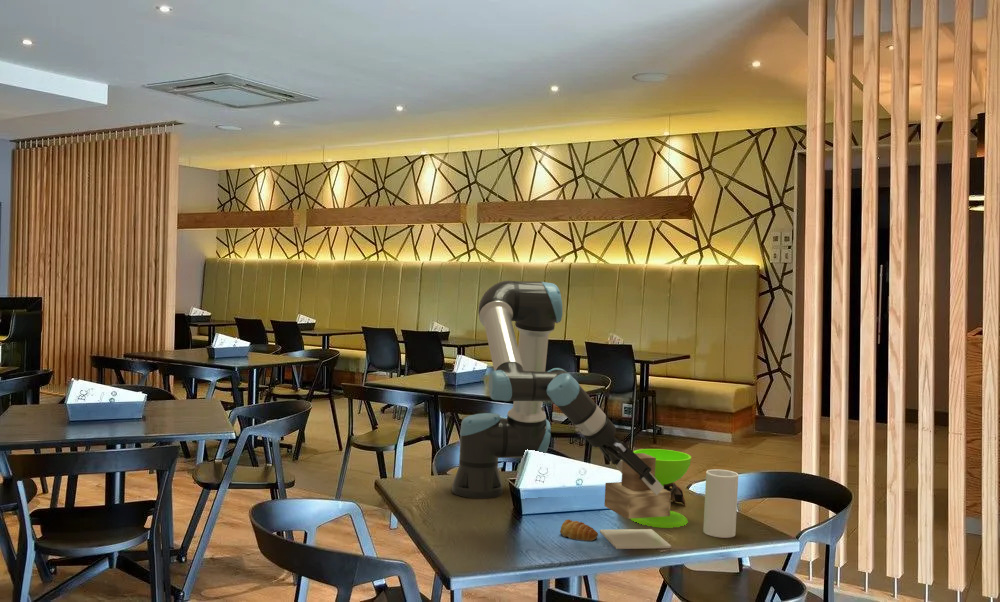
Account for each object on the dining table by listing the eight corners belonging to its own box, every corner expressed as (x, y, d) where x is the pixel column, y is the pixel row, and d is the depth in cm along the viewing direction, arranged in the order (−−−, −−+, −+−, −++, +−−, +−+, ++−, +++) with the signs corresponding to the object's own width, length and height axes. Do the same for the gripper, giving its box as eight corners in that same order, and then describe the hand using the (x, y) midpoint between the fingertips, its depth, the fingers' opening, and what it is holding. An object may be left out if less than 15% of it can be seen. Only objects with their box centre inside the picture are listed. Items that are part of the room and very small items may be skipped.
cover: (626, 518, 215) (629, 461, 214) (604, 506, 226) (606, 451, 225) (669, 516, 219) (672, 459, 218) (645, 503, 230) (648, 450, 230)
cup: (737, 531, 235) (740, 471, 234) (733, 539, 227) (736, 477, 226) (705, 526, 238) (708, 468, 237) (700, 534, 230) (703, 473, 230)
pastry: (602, 538, 224) (603, 523, 224) (589, 544, 218) (590, 529, 218) (570, 530, 229) (570, 516, 229) (557, 537, 224) (557, 522, 223)
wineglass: (617, 514, 246) (620, 450, 246) (663, 509, 254) (666, 447, 253) (653, 530, 232) (656, 462, 232) (700, 524, 240) (703, 458, 239)
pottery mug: (692, 511, 256) (683, 488, 253) (662, 524, 256) (653, 501, 253) (678, 490, 267) (670, 468, 265) (650, 503, 267) (641, 481, 265)
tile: (616, 548, 215) (616, 546, 215) (600, 531, 229) (600, 529, 229) (671, 548, 217) (671, 545, 217) (651, 531, 231) (651, 529, 231)
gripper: (564, 428, 228) (614, 484, 233) (607, 446, 205) (661, 508, 211) (583, 407, 230) (633, 464, 235) (628, 423, 207) (682, 485, 212)
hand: (646, 485), depth 223 cm, fingers closed on cover, 12 cm apart
